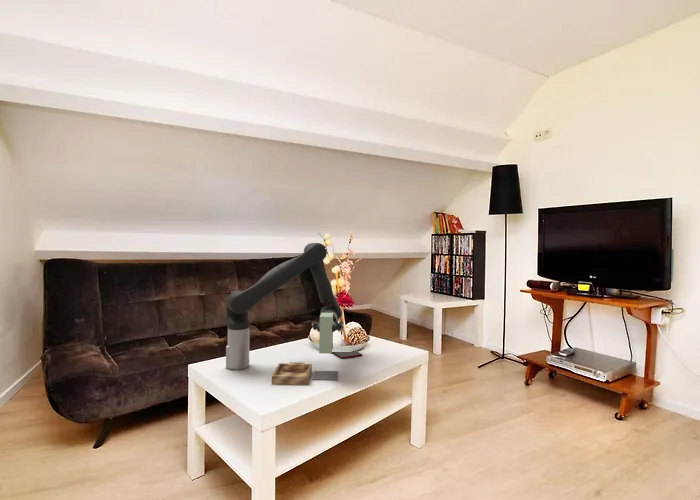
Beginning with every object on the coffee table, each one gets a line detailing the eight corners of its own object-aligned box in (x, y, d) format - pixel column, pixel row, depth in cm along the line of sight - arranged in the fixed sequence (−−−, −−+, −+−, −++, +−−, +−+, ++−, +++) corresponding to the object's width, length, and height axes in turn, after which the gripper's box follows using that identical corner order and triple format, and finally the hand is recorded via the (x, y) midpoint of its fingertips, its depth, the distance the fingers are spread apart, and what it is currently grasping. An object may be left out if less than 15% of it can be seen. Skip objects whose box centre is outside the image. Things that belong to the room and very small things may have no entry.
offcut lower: (282, 371, 160) (282, 368, 159) (284, 369, 163) (284, 365, 163) (304, 372, 159) (304, 368, 159) (305, 369, 163) (305, 366, 163)
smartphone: (340, 342, 209) (363, 353, 187) (340, 344, 209) (363, 357, 187) (319, 344, 203) (341, 357, 181) (319, 347, 203) (341, 360, 181)
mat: (312, 380, 154) (312, 379, 154) (315, 371, 164) (315, 370, 164) (337, 380, 154) (337, 379, 154) (338, 371, 164) (338, 371, 164)
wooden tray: (271, 384, 149) (271, 375, 149) (279, 370, 164) (279, 363, 164) (307, 384, 149) (307, 376, 149) (311, 371, 164) (311, 363, 164)
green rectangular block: (319, 353, 155) (319, 316, 154) (321, 347, 163) (321, 312, 162) (331, 353, 155) (332, 316, 154) (332, 347, 163) (333, 312, 162)
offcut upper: (288, 368, 159) (288, 364, 159) (289, 365, 163) (289, 362, 163) (303, 368, 159) (303, 365, 159) (304, 366, 163) (304, 362, 163)
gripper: (313, 312, 173) (308, 320, 156) (344, 312, 173) (343, 321, 156) (312, 328, 173) (308, 338, 156) (344, 329, 173) (343, 339, 156)
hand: (326, 329), depth 156 cm, fingers closed on green rectangular block, 5 cm apart
